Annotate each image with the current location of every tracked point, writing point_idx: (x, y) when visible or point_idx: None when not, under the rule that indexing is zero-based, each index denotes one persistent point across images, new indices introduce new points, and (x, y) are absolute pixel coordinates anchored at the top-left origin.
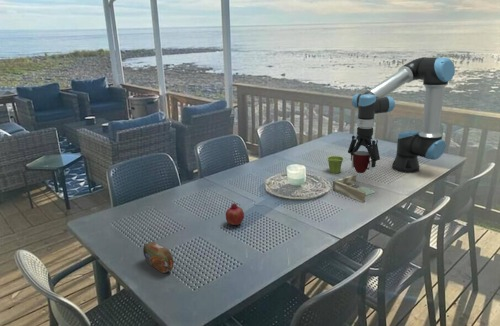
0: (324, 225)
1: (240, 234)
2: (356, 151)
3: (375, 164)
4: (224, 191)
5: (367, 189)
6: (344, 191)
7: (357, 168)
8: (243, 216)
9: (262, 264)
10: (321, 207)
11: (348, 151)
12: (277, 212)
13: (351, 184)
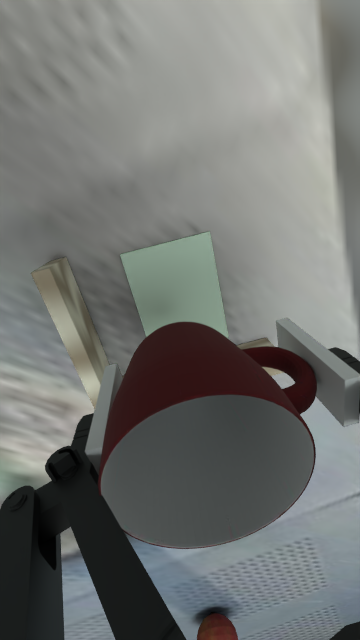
0: (316, 494)
1: (253, 607)
2: (105, 500)
3: (357, 361)
4: None
5: (167, 252)
6: None
7: (202, 407)
8: (230, 633)
9: (352, 588)
10: None
11: (40, 545)
12: (200, 556)
13: (78, 291)
